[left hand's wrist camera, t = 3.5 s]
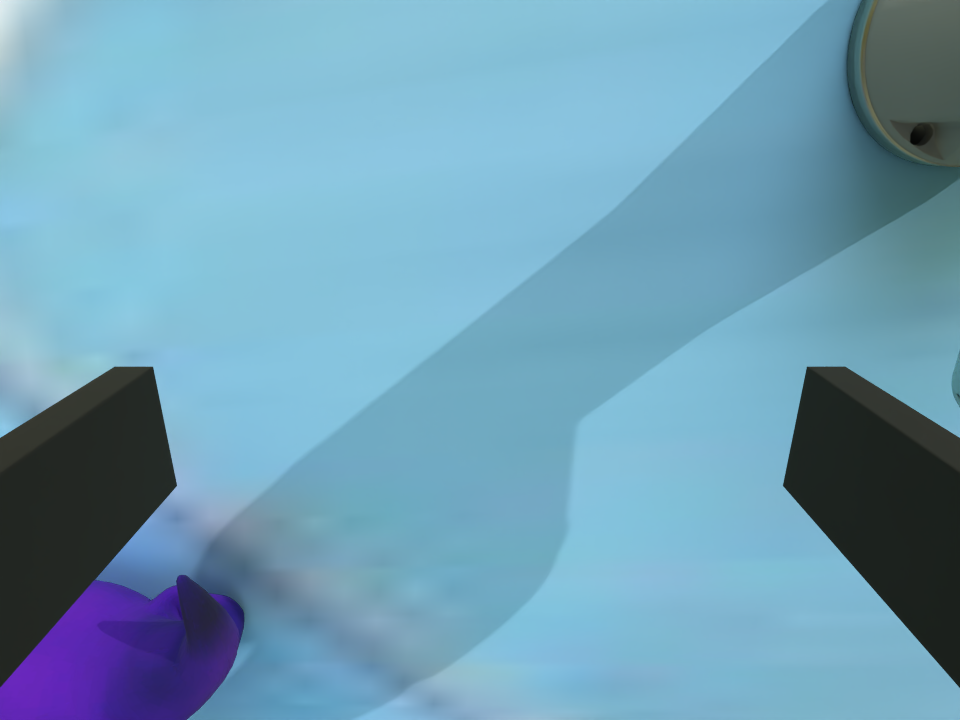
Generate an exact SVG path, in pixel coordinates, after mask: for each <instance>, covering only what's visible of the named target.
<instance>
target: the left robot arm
mask: <svg viewBox="0 0 960 720" xmlns="http://www.w3.org/2000/svg"><path fill="white" fill-rule="evenodd" d="M848 83H849V89H850V94H851V98H852V101H853V105H854V107H855V110H856V112H857V114H858V117H859V119H860V120H861V122H862V124H863V126H864V127H865V128H866V130H867V131H868V133H869V134H870V135H871V136H872V137H873V138H874V139H875V140H876V141H877V142H878V143H879V144H880V145H881V146H882V147H884V148H885V149H886V150H888V151H889V152H891V153H892V154H894V155H896V156H898V157H900V158H902V159H905V160H908V161H911V162H914V163H919V164H923V165H933V166H948V167H960V0H862V2H861V4H860V7H859V10H858V12H857V15H856V18H855V21H854V25H853V28H852V32H851V37H850V43H849V50H848ZM952 391H953V395H954V398H955V400H956V401H957V403H958V405H959V407H960V351H959V355H958V358H957V362H956V365H955V369H954V372H953V376H952ZM176 486H177V483H176V479H175V474H174V469H173V464H172V459H171V454H170V449H169V444H168V439H167V434H166V429H165V424H164V419H163V414H162V409H161V404H160V399H159V394H158V389H157V384H156V379H155V375H154V370H153V367H114V368H112V369H110V370H109V371H107V372H106V373H104V374H102V375H101V376H99V377H98V378H96V379H94V380H93V381H91V382H90V383H88V384H86V385H85V386H83V387H81V388H80V389H78V390H77V391H75V392H73V393H72V394H70V395H69V396H67V397H65V398H64V399H62V400H61V401H59V402H57V403H56V404H54V405H53V406H51V407H49V408H48V409H46V410H45V411H43V412H41V413H40V414H38V415H36V416H35V417H33V418H32V419H30V420H28V421H27V422H25V423H24V424H22V425H20V426H19V427H17V428H16V429H14V430H12V431H11V432H9V433H8V434H6V435H4V436H3V437H1V438H0V687H1V686H2V685H3V684H4V683H5V682H6V681H7V679H8V678H9V677H10V676H11V675H12V674H13V673H14V671H15V670H16V669H17V668H18V667H19V666H20V665H21V663H22V662H23V661H24V660H25V659H26V658H27V657H28V655H29V654H30V653H31V652H32V651H33V650H34V649H35V647H36V646H37V645H38V644H39V643H40V642H41V641H42V639H43V638H44V637H45V636H46V635H47V634H48V633H49V631H50V630H51V629H52V628H53V627H54V626H55V625H56V623H57V622H58V621H59V620H60V619H61V618H62V617H63V615H64V614H65V613H66V612H67V611H68V610H69V609H70V607H71V606H72V605H73V604H74V603H75V602H76V601H77V599H78V598H79V597H80V596H81V595H82V594H83V593H84V591H85V590H86V589H87V588H88V587H89V586H90V585H91V583H92V582H93V581H94V580H95V579H96V578H97V577H98V575H99V574H100V573H101V572H102V571H103V570H104V569H105V567H106V566H107V565H108V564H109V563H110V562H111V561H112V559H113V558H114V557H115V556H116V555H117V554H118V553H119V551H120V550H121V549H122V548H123V547H124V546H125V545H126V543H127V542H128V541H129V540H130V539H131V538H132V537H133V535H134V534H135V533H136V532H137V531H138V530H139V529H140V527H141V526H142V525H143V524H144V523H145V522H146V521H147V519H148V518H149V517H150V516H151V515H152V514H153V513H154V511H155V510H156V509H157V508H158V507H159V506H160V505H161V503H162V502H163V501H164V500H165V499H166V498H167V497H168V495H169V494H170V493H171V492H172V491H173V490H174V489H175V487H176ZM783 486H784V487H785V489H786V490H787V491H788V492H789V493H790V494H791V495H792V497H793V498H794V499H795V500H796V501H797V502H798V503H799V505H800V506H801V507H802V508H803V509H804V510H805V511H806V513H807V514H808V515H809V516H810V517H811V518H812V519H813V521H814V522H815V523H816V524H817V525H818V526H819V527H820V529H821V530H822V531H823V532H824V533H825V534H826V535H827V537H828V538H829V539H830V540H831V541H832V542H833V543H834V545H835V546H836V547H837V548H838V549H839V550H840V551H841V553H842V554H843V555H844V556H845V557H846V558H847V559H848V561H849V562H850V563H851V564H852V565H853V566H854V567H855V569H856V570H857V571H858V572H859V573H860V574H861V575H862V577H863V578H864V579H865V580H866V581H867V582H868V583H869V585H870V586H871V587H872V588H873V589H874V590H875V591H876V593H877V594H878V595H879V596H880V597H881V598H882V599H883V601H884V602H885V603H886V604H887V605H888V606H889V607H890V609H891V610H892V611H893V612H894V613H895V614H896V615H897V617H898V618H899V619H900V620H901V621H902V622H903V623H904V625H905V626H906V627H907V628H908V629H909V630H910V631H911V633H912V634H913V635H914V636H915V637H916V638H917V639H918V641H919V642H920V643H921V644H922V645H923V646H924V647H925V649H926V650H927V651H928V652H929V653H930V654H931V655H932V657H933V658H934V659H935V660H936V661H937V662H938V663H939V665H940V666H941V667H942V668H943V669H944V670H945V671H946V673H947V674H948V675H949V676H950V677H951V678H952V679H953V681H954V682H955V683H956V684H957V685H958V686H959V687H960V438H959V437H957V436H956V435H954V434H952V433H951V432H949V431H948V430H946V429H944V428H943V427H941V426H940V425H938V424H936V423H935V422H933V421H932V420H930V419H928V418H927V417H925V416H924V415H922V414H920V413H919V412H917V411H915V410H914V409H912V408H911V407H909V406H907V405H906V404H904V403H903V402H901V401H899V400H898V399H896V398H895V397H893V396H891V395H890V394H888V393H887V392H885V391H883V390H882V389H880V388H879V387H877V386H875V385H874V384H872V383H870V382H869V381H867V380H866V379H864V378H862V377H861V376H859V375H858V374H856V373H854V372H853V371H851V370H850V369H848V368H846V367H807V370H806V375H805V379H804V384H803V389H802V394H801V399H800V404H799V409H798V414H797V419H796V424H795V429H794V434H793V439H792V444H791V449H790V454H789V459H788V464H787V469H786V474H785V479H784V483H783Z"/></svg>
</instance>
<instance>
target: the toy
mask: <svg viewBox="0 0 960 720" xmlns="http://www.w3.org/2000/svg"><path fill="white" fill-rule="evenodd" d="M243 628H244V612H243V610H242V608H241V607H240V606H239V605H238V604H237V603H236V602H235V601H234V600H233V599H231V598H230V597H227V596H224V595H218V594H211V593H208V592H207V591H206V590H204V589H203V588H202V587H200V586H199V585H198V584H196V583H195V582H194V581H192V580H191V579H190V578H189V577H187V576H186V575H179V576H178V578H177V585H176V586H172V587H170V588H168V589H166V590H165V591H163V592H162V593H161V594H159V595H158V596H157V597H156V598H154V599H153V600H150V599H148V598H147V597H145V596H144V595H142V594H140V593H138V592H136V591H133V590H131V589H129V588H126V587H124V586H121V585H117V584H113V583H109V582H103V581H97V580H94V581H93V582H92V583H91V585H90V586H89V587H88V588H87V589H86V590H85V591H84V593H83V594H82V595H81V596H80V597H79V598H78V599H77V601H76V602H75V603H74V604H73V605H72V606H71V607H70V609H69V610H68V611H67V612H66V613H65V614H64V615H63V617H62V618H61V619H60V620H59V621H58V622H57V623H56V625H55V626H54V627H53V628H52V629H51V630H50V631H49V633H48V634H47V635H46V636H45V637H44V638H43V639H42V641H41V642H40V643H39V644H38V645H37V646H36V647H35V649H34V650H33V651H32V652H31V653H30V654H29V655H28V657H27V658H26V659H25V660H24V661H23V662H22V663H21V665H20V666H19V667H18V668H17V669H16V670H15V671H14V673H13V674H12V675H11V676H10V677H9V678H8V679H7V681H6V682H5V683H4V684H3V685H2V686H1V687H0V720H187V719H188V718H189V717H190V716H192V715H193V714H194V713H195V712H196V711H197V710H199V709H200V708H201V707H202V706H203V705H204V704H205V702H206V701H207V700H208V699H209V698H210V697H211V696H212V695H213V693H214V692H215V691H216V690H217V689H218V687H219V686H220V685H221V684H222V682H223V681H224V679H225V678H226V676H227V674H228V673H229V671H230V669H231V667H232V666H233V663H234V660H235V658H236V655H237V650H238V647H239V643H240V639H241V636H242V632H243Z"/></svg>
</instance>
